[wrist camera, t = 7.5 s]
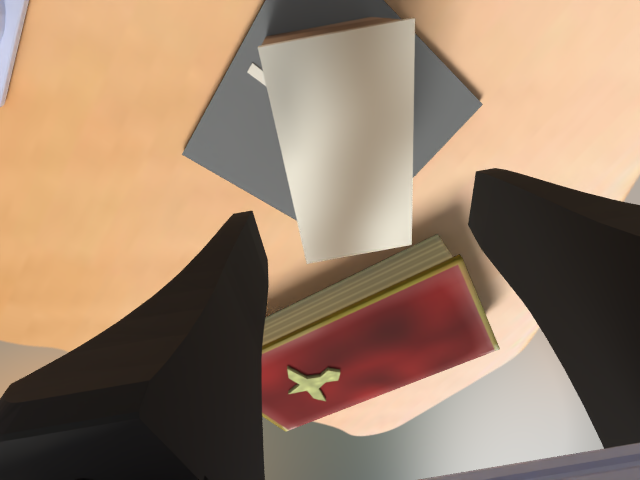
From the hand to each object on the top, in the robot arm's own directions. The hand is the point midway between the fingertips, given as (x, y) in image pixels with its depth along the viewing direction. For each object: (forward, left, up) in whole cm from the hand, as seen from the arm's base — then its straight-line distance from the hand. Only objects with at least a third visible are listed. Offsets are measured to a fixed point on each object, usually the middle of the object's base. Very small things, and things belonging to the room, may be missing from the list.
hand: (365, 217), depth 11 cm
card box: (0, 0, -9) cm, 9 cm away
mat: (0, 0, -10) cm, 10 cm away
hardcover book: (+12, -13, -10) cm, 21 cm away
